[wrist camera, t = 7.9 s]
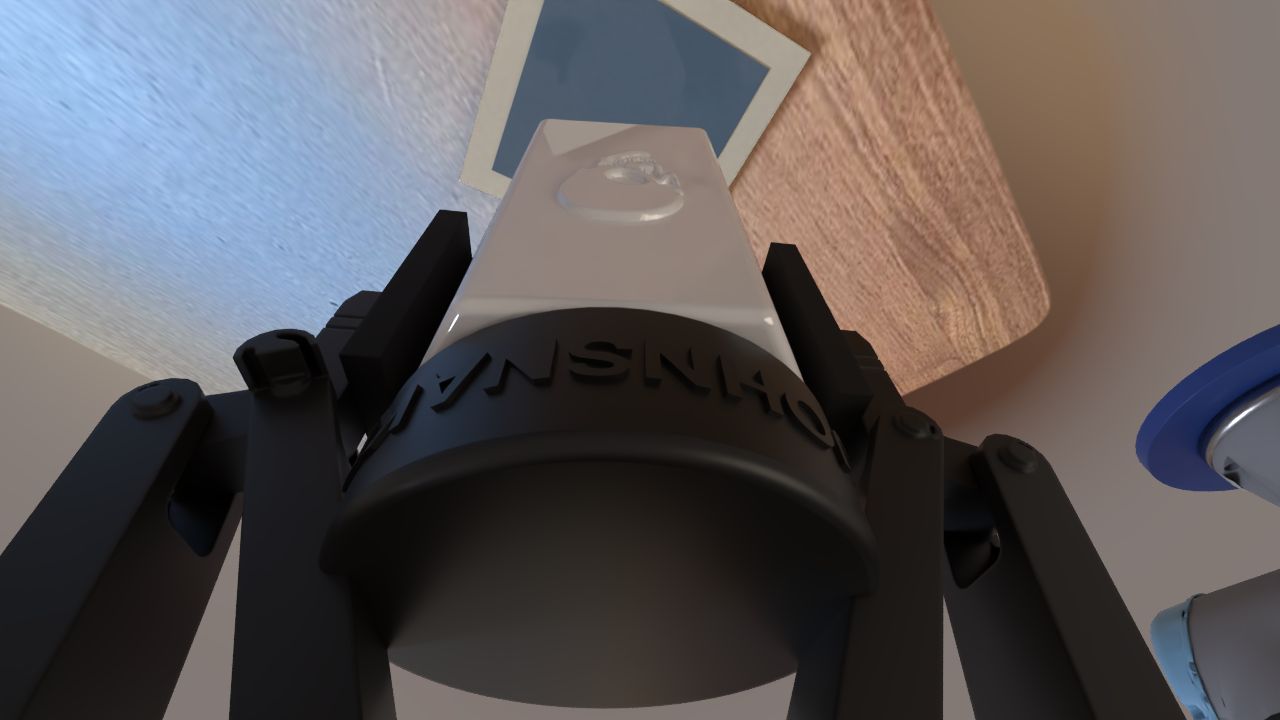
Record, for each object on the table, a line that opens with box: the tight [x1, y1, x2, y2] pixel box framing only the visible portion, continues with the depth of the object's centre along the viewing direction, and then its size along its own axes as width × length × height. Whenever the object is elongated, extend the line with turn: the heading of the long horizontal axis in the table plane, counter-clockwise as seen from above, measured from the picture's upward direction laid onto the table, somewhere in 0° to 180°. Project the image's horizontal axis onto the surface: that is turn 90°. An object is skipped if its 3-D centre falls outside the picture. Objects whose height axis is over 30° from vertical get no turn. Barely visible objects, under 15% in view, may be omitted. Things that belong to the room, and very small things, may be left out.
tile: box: [459, 0, 811, 199], centre depth 27 cm, size 14×14×1 cm
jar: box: [318, 119, 882, 708], centre depth 12 cm, size 9×8×12 cm
